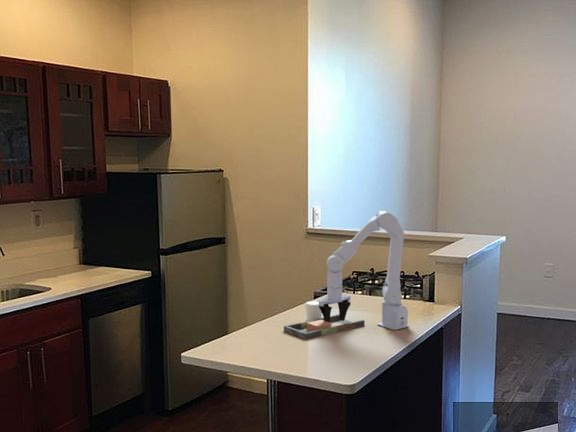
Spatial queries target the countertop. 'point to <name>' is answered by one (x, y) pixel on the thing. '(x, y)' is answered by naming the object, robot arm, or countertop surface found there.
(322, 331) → the channel
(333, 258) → the robot arm
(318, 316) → the shot glass
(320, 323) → the brick block
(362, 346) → the countertop surface
